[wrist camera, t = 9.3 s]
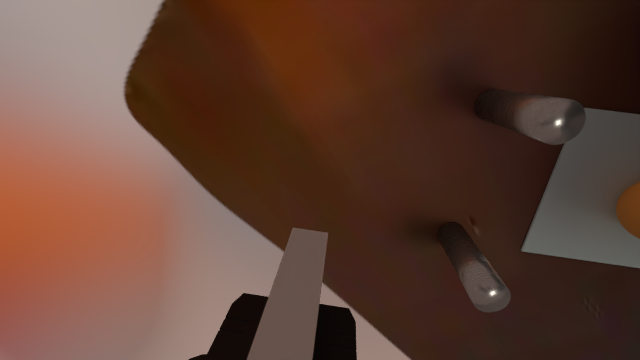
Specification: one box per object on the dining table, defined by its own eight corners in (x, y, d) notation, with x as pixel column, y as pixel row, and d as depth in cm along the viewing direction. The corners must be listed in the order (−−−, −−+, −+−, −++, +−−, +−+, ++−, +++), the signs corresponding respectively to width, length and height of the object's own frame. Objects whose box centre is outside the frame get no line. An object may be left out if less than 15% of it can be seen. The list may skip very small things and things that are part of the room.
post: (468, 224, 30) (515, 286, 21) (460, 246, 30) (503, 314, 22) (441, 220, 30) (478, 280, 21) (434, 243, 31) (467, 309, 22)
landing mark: (756, 128, 24) (759, 129, 24) (667, 271, 29) (669, 272, 29) (578, 106, 25) (580, 107, 25) (520, 250, 30) (521, 251, 30)
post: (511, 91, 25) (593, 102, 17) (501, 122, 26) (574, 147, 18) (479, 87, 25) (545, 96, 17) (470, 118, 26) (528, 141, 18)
